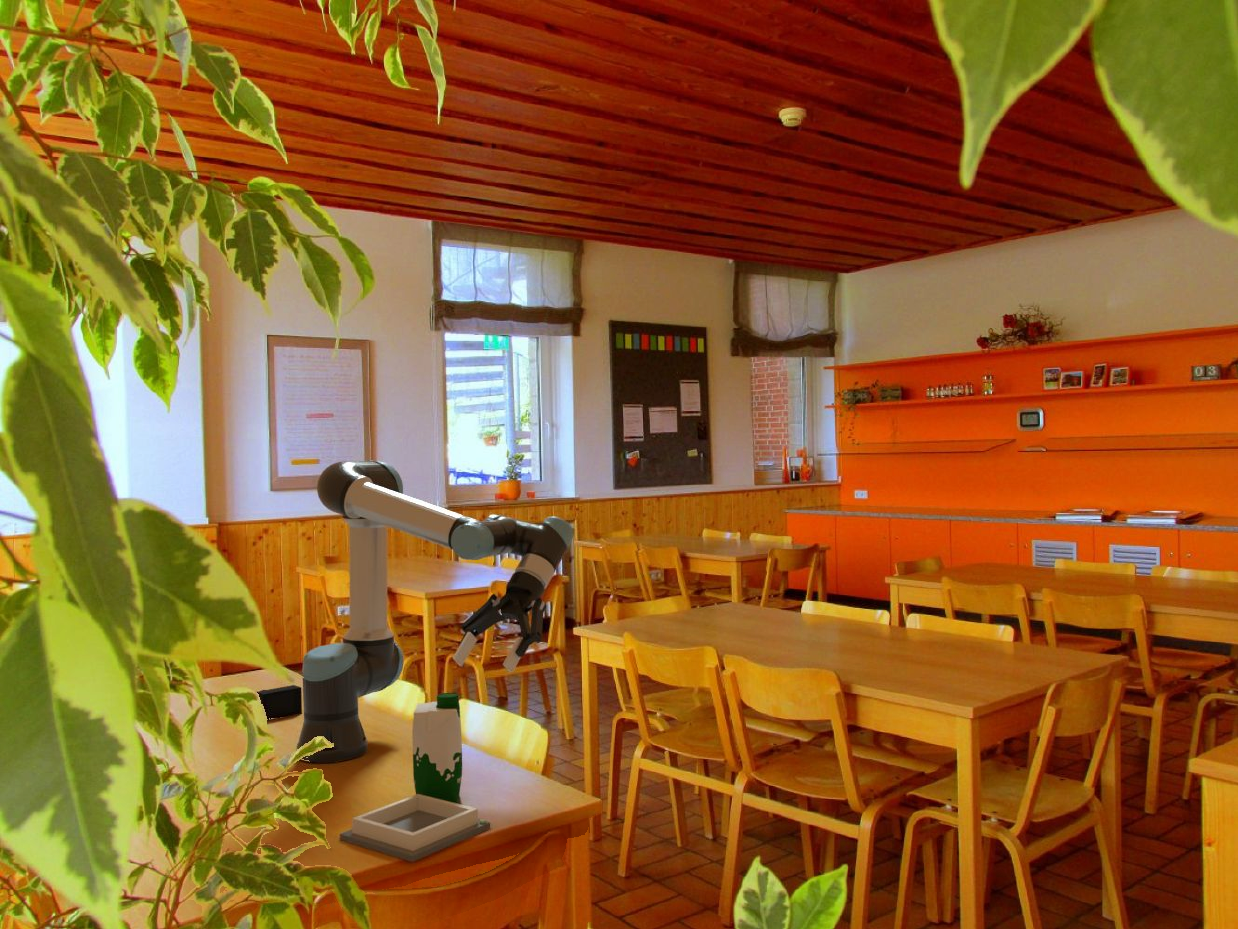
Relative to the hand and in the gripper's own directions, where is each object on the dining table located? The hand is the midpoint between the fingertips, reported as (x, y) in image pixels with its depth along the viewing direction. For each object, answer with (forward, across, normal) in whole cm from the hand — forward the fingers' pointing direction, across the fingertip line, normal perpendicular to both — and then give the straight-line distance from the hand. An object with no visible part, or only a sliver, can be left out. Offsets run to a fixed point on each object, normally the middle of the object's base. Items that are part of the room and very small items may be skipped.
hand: (481, 665), depth 202 cm
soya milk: (+25, 0, -8) cm, 27 cm away
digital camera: (+7, +85, -26) cm, 89 cm away
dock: (+35, -9, +2) cm, 36 cm away
